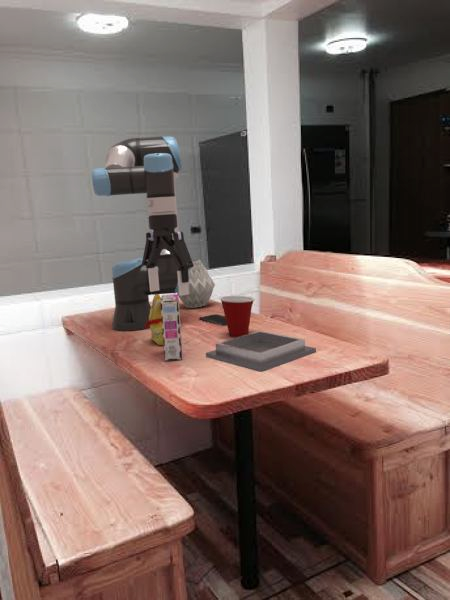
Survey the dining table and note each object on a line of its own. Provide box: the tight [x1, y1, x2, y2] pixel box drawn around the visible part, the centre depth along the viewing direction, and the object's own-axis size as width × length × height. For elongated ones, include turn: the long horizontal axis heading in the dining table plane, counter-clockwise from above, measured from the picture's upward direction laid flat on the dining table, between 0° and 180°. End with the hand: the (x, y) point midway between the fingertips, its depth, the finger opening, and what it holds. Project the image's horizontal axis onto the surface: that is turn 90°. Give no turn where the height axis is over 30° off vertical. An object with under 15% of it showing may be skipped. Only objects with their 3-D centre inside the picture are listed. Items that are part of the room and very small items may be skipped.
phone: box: [198, 313, 227, 327], centre depth 187 cm, size 8×1×15 cm
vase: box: [176, 259, 216, 309], centre depth 214 cm, size 16×16×18 cm
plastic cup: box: [219, 295, 256, 338], centre depth 165 cm, size 11×11×12 cm
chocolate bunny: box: [145, 294, 164, 347], centre depth 162 cm, size 7×11×15 cm, turn 25°
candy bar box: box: [160, 293, 183, 362], centre depth 147 cm, size 11×5×16 cm, turn 5°
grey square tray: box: [205, 330, 317, 372], centre depth 144 cm, size 21×21×4 cm
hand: (168, 293), depth 145 cm, fingers open, 13 cm apart
